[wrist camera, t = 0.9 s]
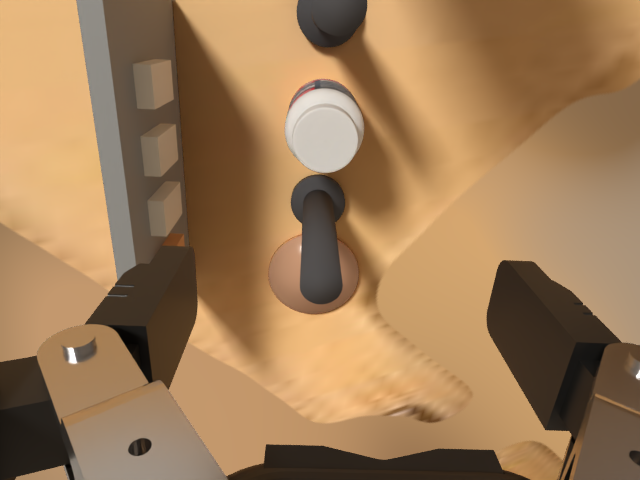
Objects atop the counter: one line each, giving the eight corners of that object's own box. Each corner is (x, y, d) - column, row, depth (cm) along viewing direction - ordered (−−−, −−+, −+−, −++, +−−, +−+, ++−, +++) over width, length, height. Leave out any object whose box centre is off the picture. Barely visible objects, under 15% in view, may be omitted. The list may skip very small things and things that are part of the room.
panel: (154, -6, 32) (73, -22, 21) (186, -4, 32) (121, -19, 21) (177, 273, 41) (129, 362, 30) (202, 274, 41) (163, 363, 30)
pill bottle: (307, 65, 34) (306, 77, 26) (369, 98, 35) (386, 120, 27) (277, 129, 36) (267, 159, 28) (336, 159, 37) (343, 196, 29)
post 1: (298, -25, 32) (289, -58, 19) (362, -21, 32) (396, -51, 19) (296, 45, 34) (287, 57, 21) (356, 48, 34) (384, 62, 21)
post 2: (292, 173, 38) (282, 248, 25) (346, 175, 38) (364, 252, 25) (290, 223, 39) (280, 317, 27) (342, 225, 40) (356, 320, 27)
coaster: (269, 231, 40) (269, 232, 39) (362, 235, 40) (362, 236, 40) (268, 309, 43) (268, 312, 43) (354, 312, 43) (354, 315, 43)
